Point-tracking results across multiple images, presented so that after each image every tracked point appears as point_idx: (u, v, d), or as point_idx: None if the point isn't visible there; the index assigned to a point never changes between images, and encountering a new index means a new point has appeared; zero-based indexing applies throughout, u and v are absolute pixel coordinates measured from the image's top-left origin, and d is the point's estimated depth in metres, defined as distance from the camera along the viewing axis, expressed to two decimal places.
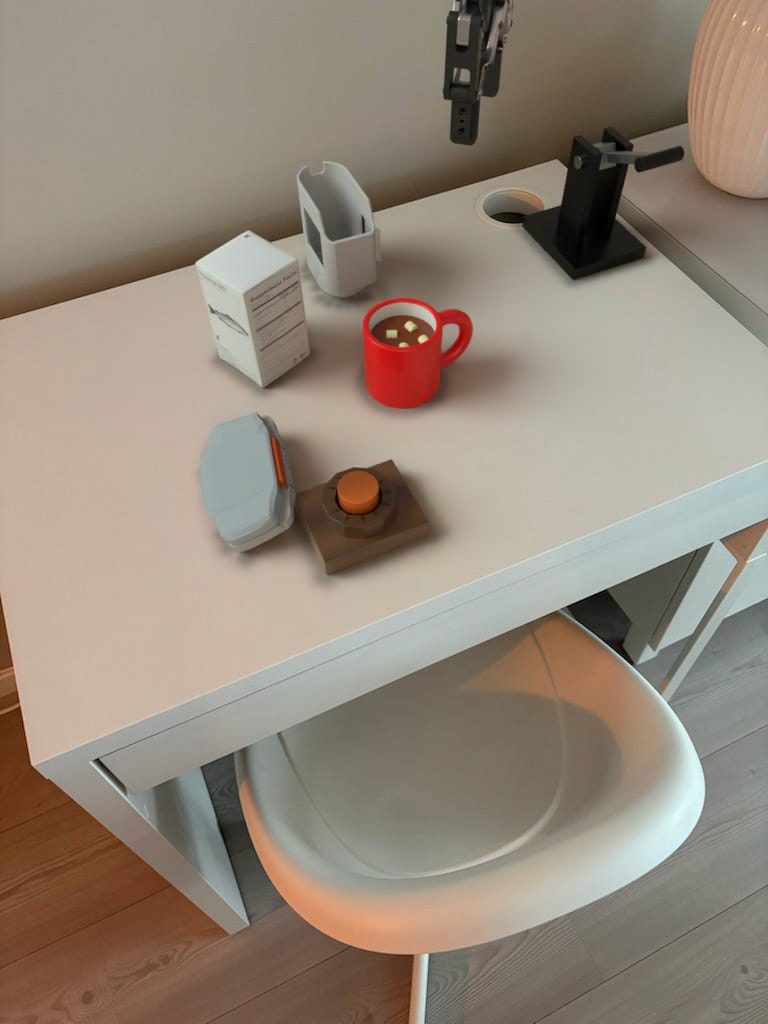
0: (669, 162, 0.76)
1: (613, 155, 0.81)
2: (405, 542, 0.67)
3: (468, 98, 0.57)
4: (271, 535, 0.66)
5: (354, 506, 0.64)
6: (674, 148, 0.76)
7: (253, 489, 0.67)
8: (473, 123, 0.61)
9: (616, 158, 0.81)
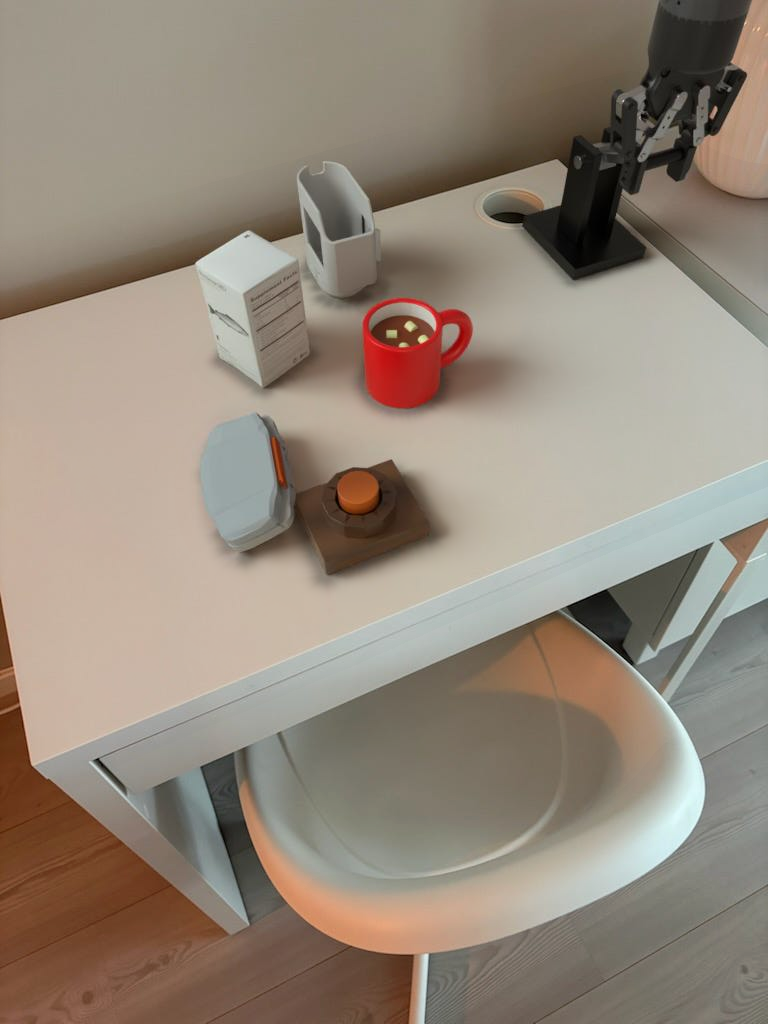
0: (669, 162, 0.76)
1: (613, 155, 0.81)
2: (405, 542, 0.67)
3: (621, 154, 0.72)
4: (271, 535, 0.66)
5: (354, 506, 0.64)
6: (674, 148, 0.76)
7: (253, 489, 0.67)
8: (635, 178, 0.75)
9: (616, 158, 0.81)
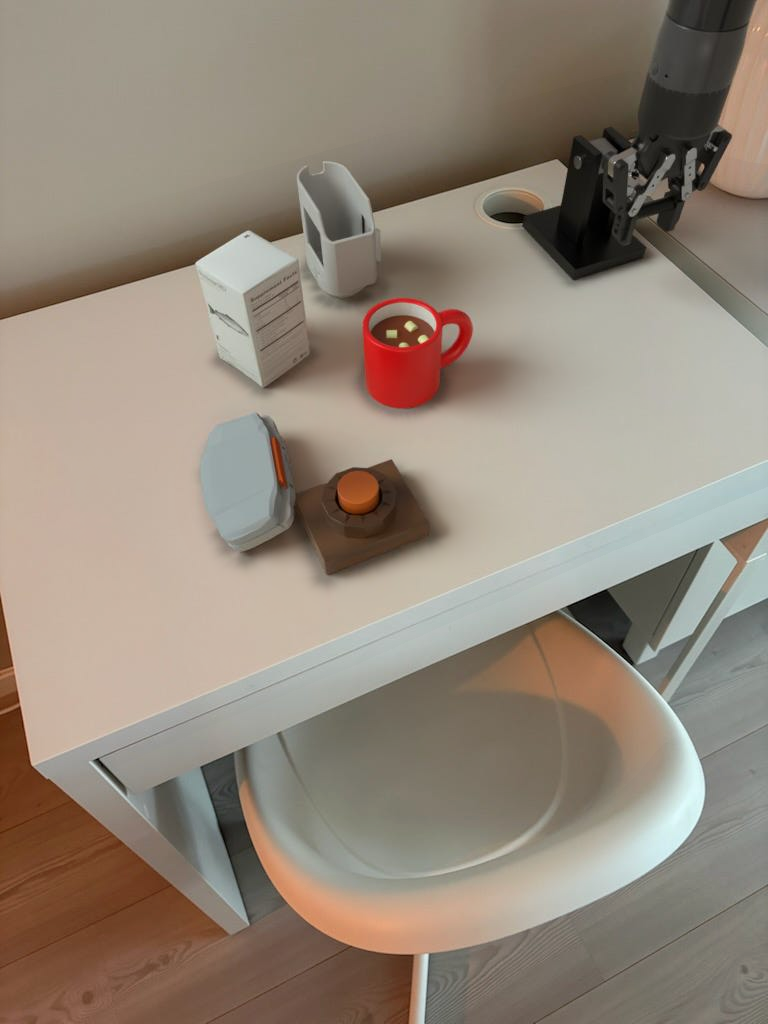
0: None
1: None
2: (405, 542, 0.67)
3: (613, 209, 0.76)
4: (271, 535, 0.66)
5: (354, 506, 0.64)
6: (667, 200, 0.79)
7: (253, 489, 0.67)
8: (626, 230, 0.79)
9: None
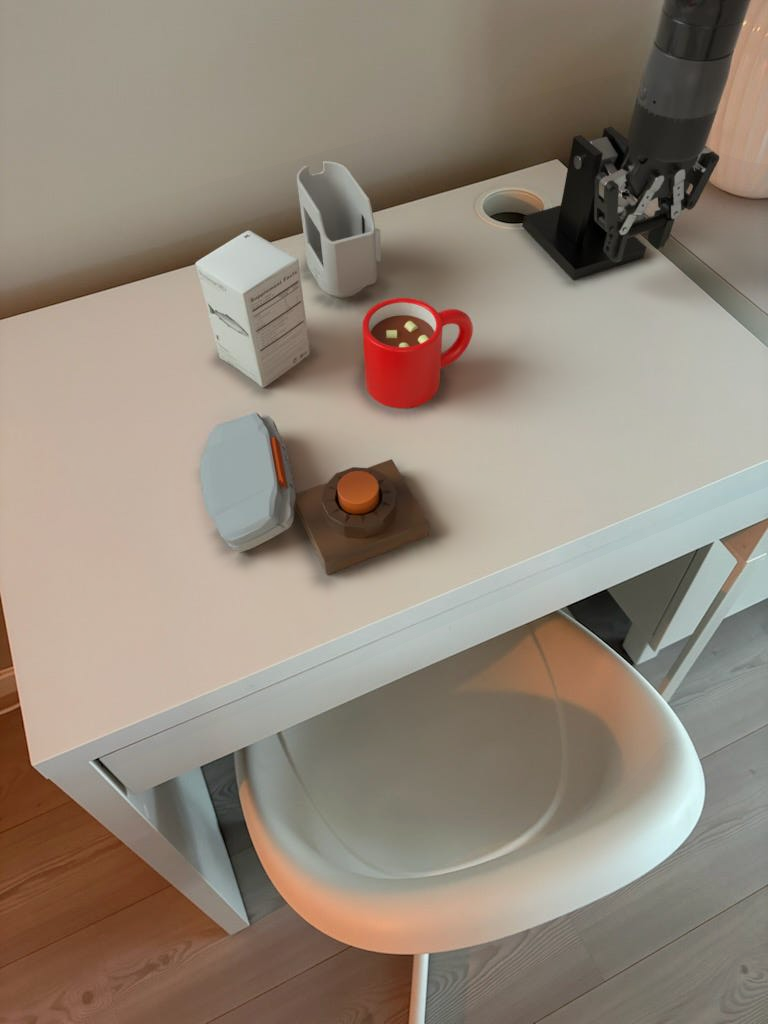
0: (649, 230, 0.82)
1: None
2: (405, 542, 0.67)
3: (604, 228, 0.79)
4: (271, 535, 0.66)
5: (354, 506, 0.64)
6: (659, 220, 0.81)
7: (253, 489, 0.67)
8: (618, 248, 0.82)
9: None
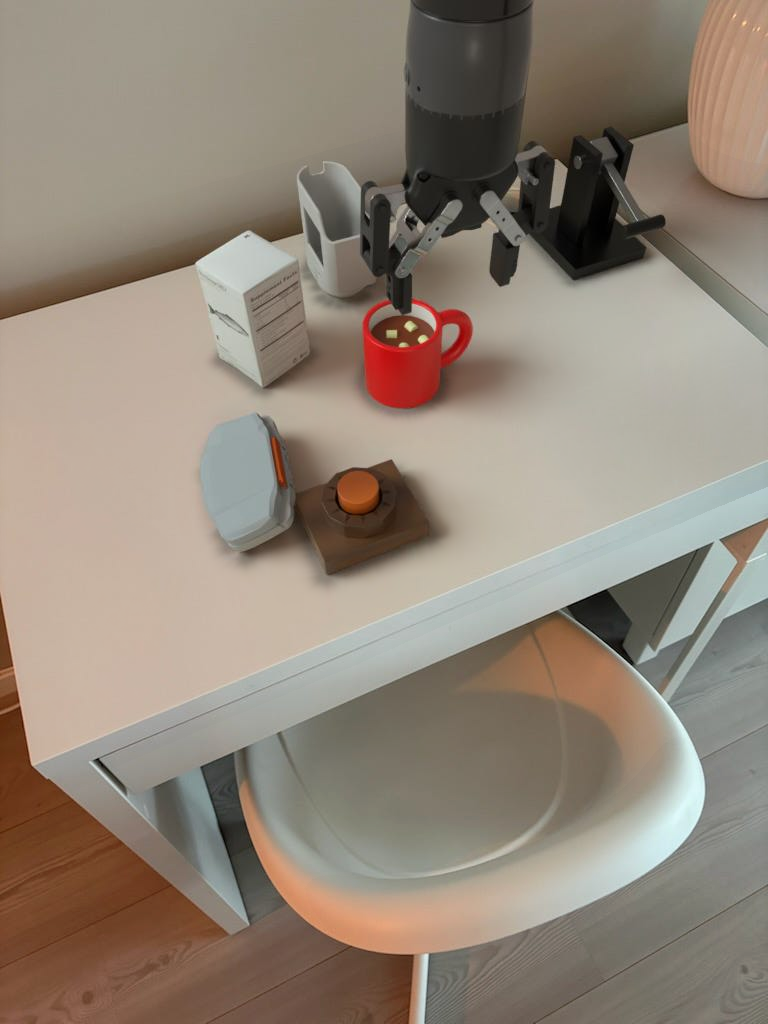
0: (649, 231, 0.82)
1: (610, 177, 0.83)
2: (405, 542, 0.67)
3: (370, 269, 0.54)
4: (271, 535, 0.66)
5: (354, 506, 0.64)
6: (658, 221, 0.81)
7: (253, 489, 0.67)
8: (402, 296, 0.57)
9: (611, 183, 0.83)
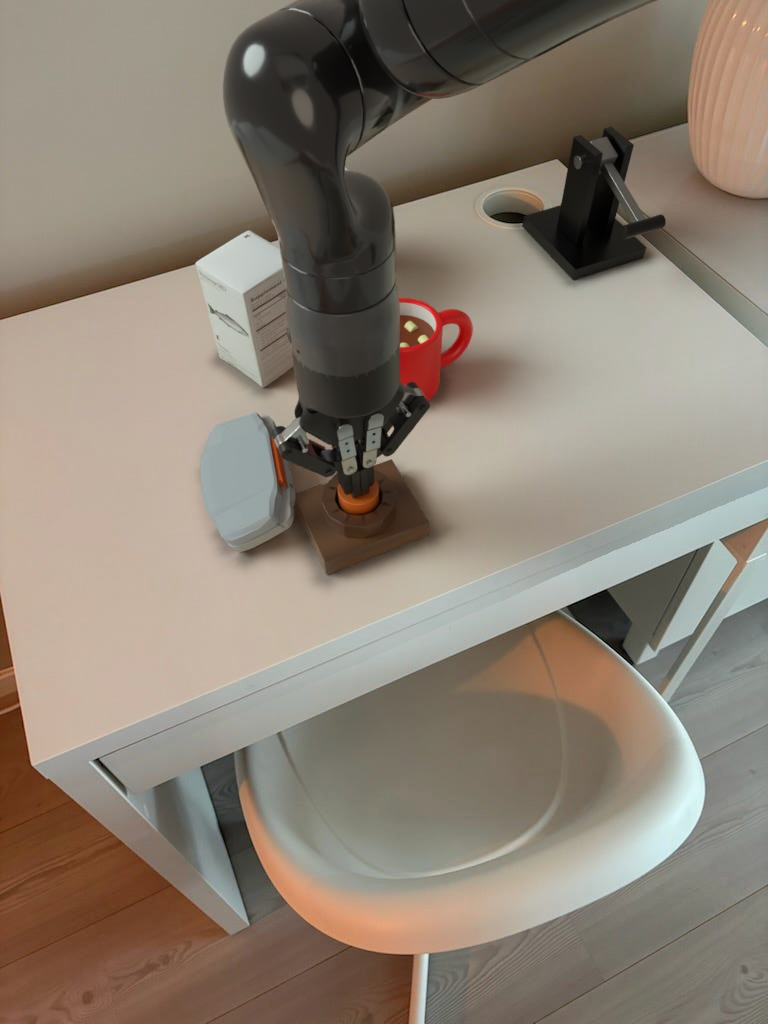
0: (649, 231, 0.82)
1: (610, 177, 0.83)
2: (405, 542, 0.67)
3: None
4: (271, 535, 0.66)
5: (354, 508, 0.64)
6: (658, 221, 0.81)
7: (253, 489, 0.67)
8: (351, 485, 0.63)
9: (611, 183, 0.83)
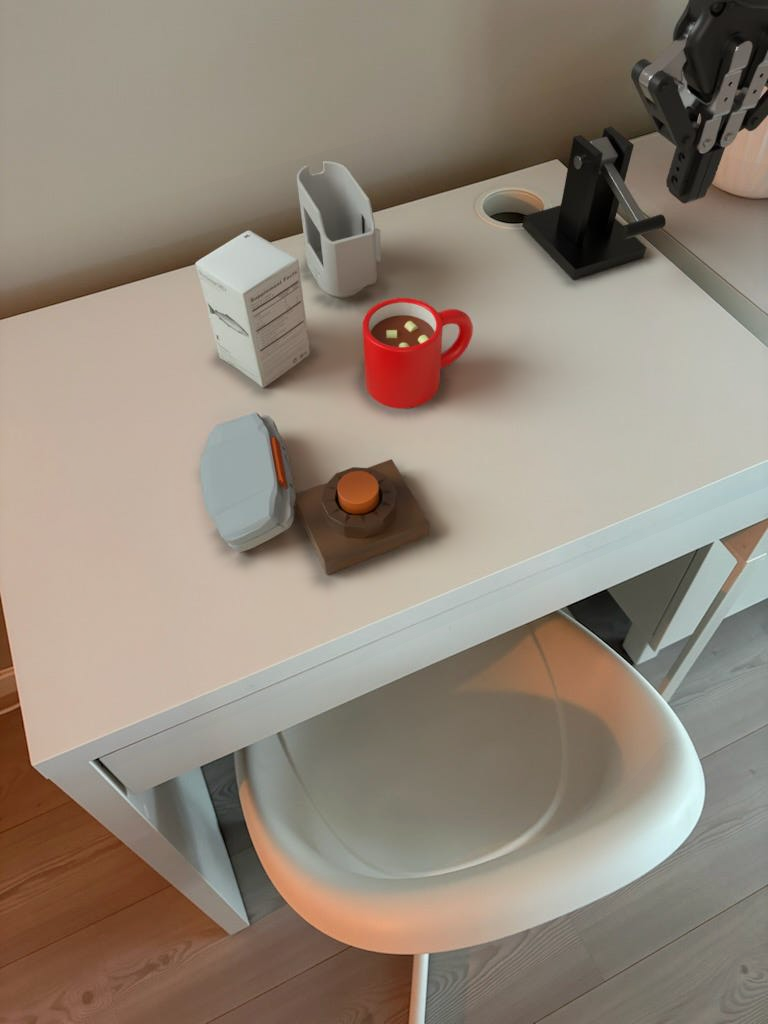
0: (649, 231, 0.82)
1: (610, 177, 0.83)
2: (405, 542, 0.67)
3: (674, 140, 0.47)
4: (271, 535, 0.66)
5: (354, 506, 0.64)
6: (658, 221, 0.81)
7: (253, 489, 0.67)
8: (692, 178, 0.50)
9: (611, 183, 0.83)
